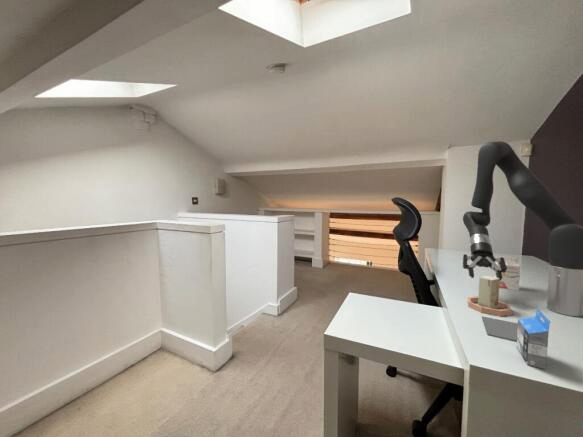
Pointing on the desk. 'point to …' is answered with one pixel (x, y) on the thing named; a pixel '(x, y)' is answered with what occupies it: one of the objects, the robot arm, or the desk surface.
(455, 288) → the desk surface
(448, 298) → the desk surface
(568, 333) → the desk surface
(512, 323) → the mat
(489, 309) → the ring
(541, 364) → the label tape cartridge
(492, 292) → the skincare box
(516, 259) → the ink cartridge box
